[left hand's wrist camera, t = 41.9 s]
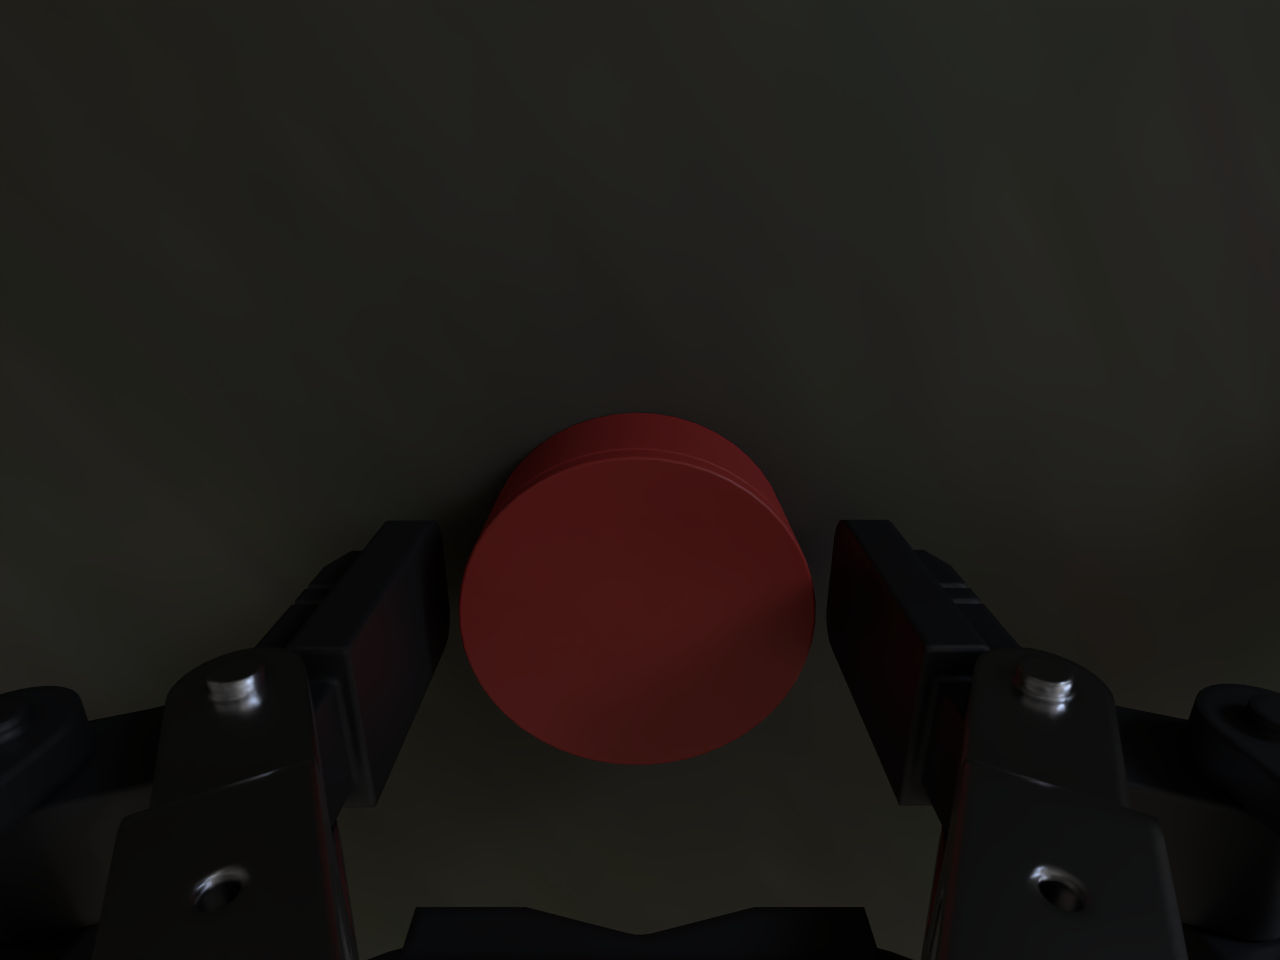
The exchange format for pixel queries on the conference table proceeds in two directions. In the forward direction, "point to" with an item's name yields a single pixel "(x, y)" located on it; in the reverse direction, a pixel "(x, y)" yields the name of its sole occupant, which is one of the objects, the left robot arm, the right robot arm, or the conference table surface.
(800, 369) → the conference table surface
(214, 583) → the conference table surface
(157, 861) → the left robot arm
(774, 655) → the lid
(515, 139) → the conference table surface
